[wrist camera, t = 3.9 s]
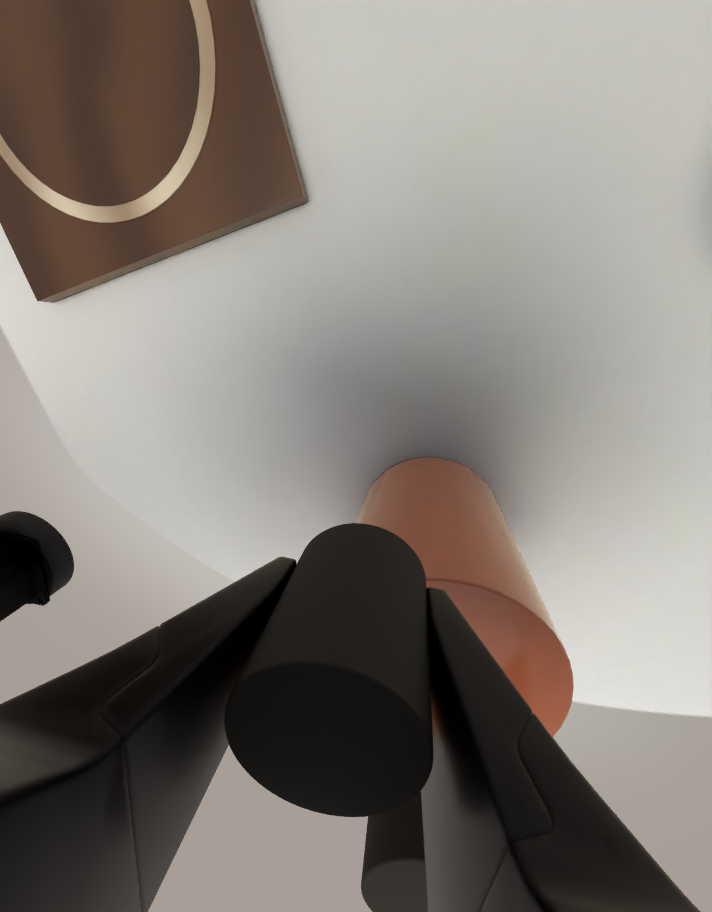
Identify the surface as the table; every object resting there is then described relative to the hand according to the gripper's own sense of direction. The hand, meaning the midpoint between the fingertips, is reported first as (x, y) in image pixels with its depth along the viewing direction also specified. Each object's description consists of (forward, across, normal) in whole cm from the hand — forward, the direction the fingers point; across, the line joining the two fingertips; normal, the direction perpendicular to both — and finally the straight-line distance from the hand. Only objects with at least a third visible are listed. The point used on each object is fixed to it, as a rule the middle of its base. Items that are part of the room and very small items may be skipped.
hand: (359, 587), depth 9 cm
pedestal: (+13, -3, +4) cm, 14 cm away
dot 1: (0, 0, 0) cm, 0 cm away
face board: (+13, +16, -15) cm, 26 cm away
